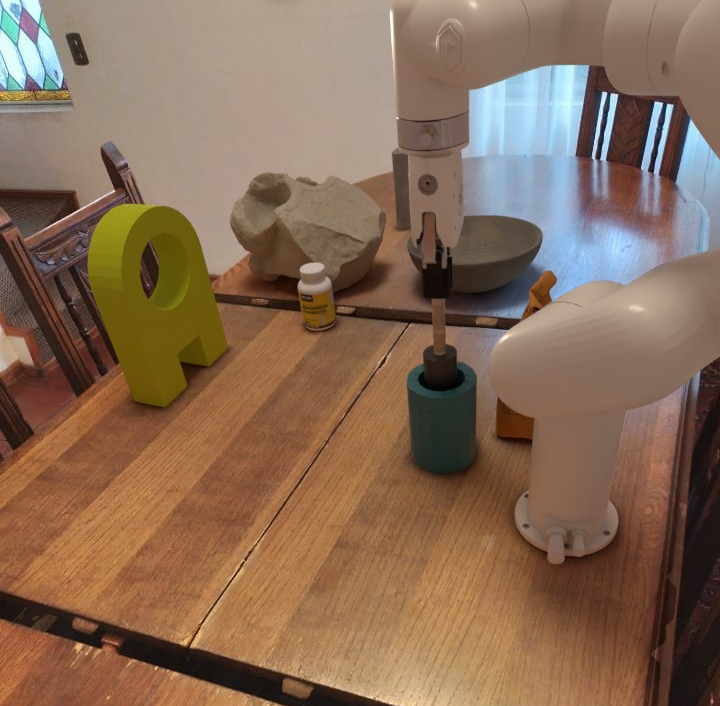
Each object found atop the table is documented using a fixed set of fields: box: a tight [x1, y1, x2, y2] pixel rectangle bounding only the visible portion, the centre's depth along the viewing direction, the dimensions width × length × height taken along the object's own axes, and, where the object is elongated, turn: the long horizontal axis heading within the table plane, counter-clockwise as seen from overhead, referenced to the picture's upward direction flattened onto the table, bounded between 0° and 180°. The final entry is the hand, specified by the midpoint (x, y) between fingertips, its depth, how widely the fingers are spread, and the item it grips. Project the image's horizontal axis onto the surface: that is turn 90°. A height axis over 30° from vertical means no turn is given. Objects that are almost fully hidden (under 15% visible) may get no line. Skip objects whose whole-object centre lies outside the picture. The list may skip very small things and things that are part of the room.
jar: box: [406, 360, 478, 474], centre depth 95 cm, size 9×9×13 cm
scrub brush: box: [422, 249, 458, 387], centre depth 85 cm, size 4×4×18 cm
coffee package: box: [495, 270, 558, 441], centre depth 95 cm, size 10×12×22 cm
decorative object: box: [87, 203, 229, 408], centre depth 114 cm, size 20×7×30 cm, turn 155°
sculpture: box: [229, 171, 387, 294], centre depth 144 cm, size 26×27×30 cm
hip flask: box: [391, 147, 411, 231], centre depth 163 cm, size 16×4×20 cm, turn 164°
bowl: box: [406, 214, 544, 294], centre depth 136 cm, size 26×26×10 cm
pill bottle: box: [297, 263, 337, 332], centre depth 129 cm, size 6×6×12 cm
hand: (438, 292), depth 82 cm, fingers closed on scrub brush
